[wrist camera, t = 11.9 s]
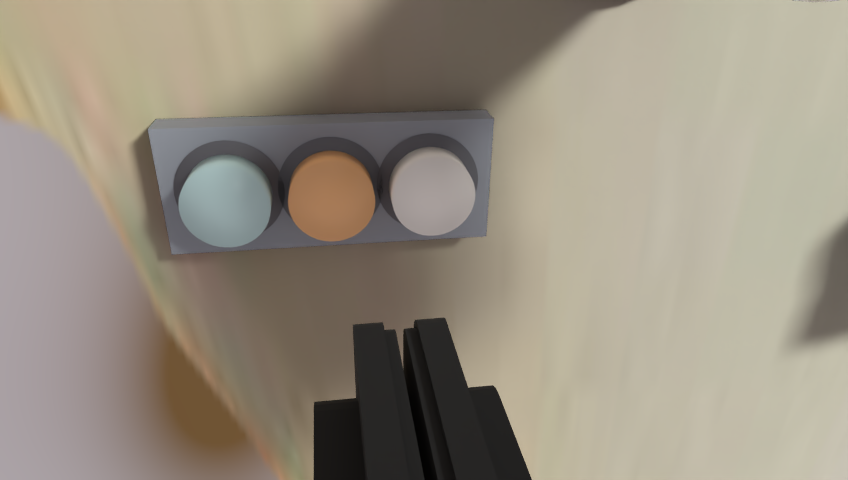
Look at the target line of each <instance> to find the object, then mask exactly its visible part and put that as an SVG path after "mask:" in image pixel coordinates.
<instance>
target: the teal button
mask: <svg viewBox="0 0 848 480" xmlns="http://www.w3.org/2000/svg"><path fill="white" fill-rule="evenodd" d="M272 199H273V194H272V187H271V184H270V182H269V180H268V178H267V176H266V175H265V173H264V172H263V171H262V170H261V169H260V168H259V167H258V166H257V165H256V164H254V163H253V162H251V161H249V160H247V159H245V158H243V157H239V156H236V155H216V156H212V157H209V158H207V159H205V160H203V161H201V162H200V163H198V164H197V165H196V166H195V167H194V168H193V169H192V171H191V172H190V174H189V176H188V178H187V180H186V182H185V184H184V186H183V188H182V190H181V193H180V196H179V203H178V206H179V213H180V216H181V219H182V221H183V223H184V224H185V226H186V227H187V229H188V230H189V231H190V232H191V233H192V234H193V235H194V236H195V237H197V238H198V239H200V240H201V241H203V242H205V243H207V244H210V245H213V246H218V247H238V246H242V245H245V244H247V243H249V242H251V241H253V240H254V239H256V238H257V237H258V236H259V235H260V234H261V233H262V232H263V231H264V229H265V228H266V226H267V224H268V222H269V218H270V213H271V206H272Z"/></svg>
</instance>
